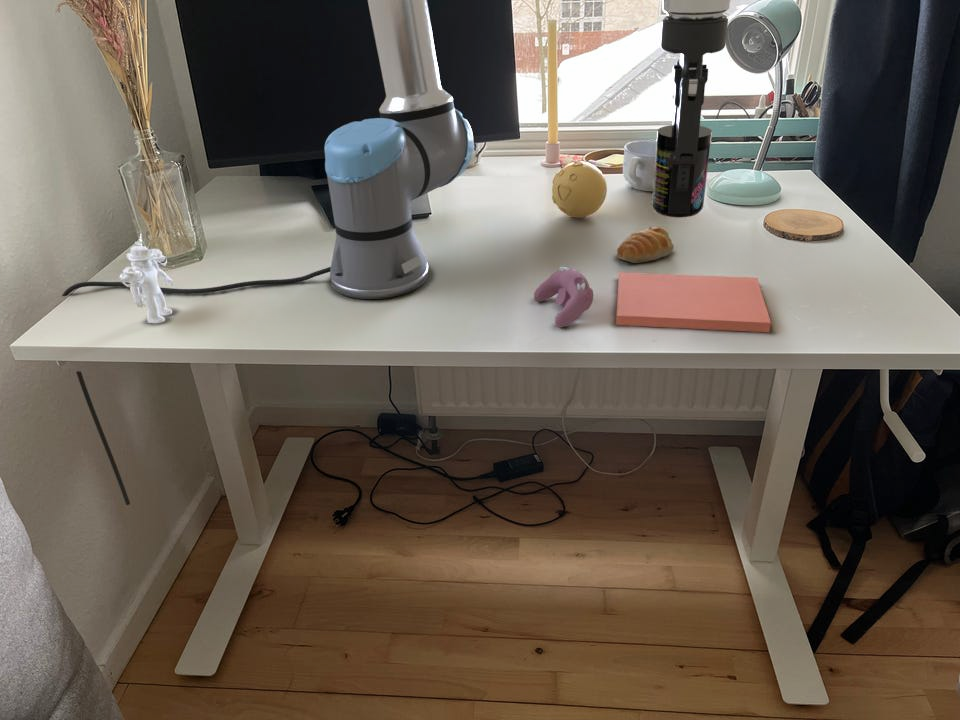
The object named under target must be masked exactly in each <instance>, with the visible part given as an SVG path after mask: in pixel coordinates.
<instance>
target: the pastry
mask: <svg viewBox="0 0 960 720" xmlns="http://www.w3.org/2000/svg"><path fill="white" fill-rule="evenodd" d="M674 248H675V246H674V244H673V239H672V238H671V236H670V235H669V232H668V230H666V229H664V228H662V227H661V226H656V227H652V226H649V227H648V228H647V229H644V230H643V229H642V230H640V231H636V232H635V231H634V232H633V233H631V234H630V236H629V237H627V238H626V239H625V240H624V241H623V242H622V243H620V245H619V246H618V247H617V250H616V252H617V259H620V260H622V261H625V262H629V263H632V264H633V263H634V264H637V263H638V264H641V263H643V262H651V261H656V260H659V259H661V258H665V257H667V256H669V255H670V254H671V253H672V252H673V251H674Z"/></svg>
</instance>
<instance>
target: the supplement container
mask: <svg viewBox="0 0 960 720" xmlns="http://www.w3.org/2000/svg"><path fill="white" fill-rule="evenodd" d="M676 127H677V125H672V124H670V125H665V126H662V127H659V128H658V129H657V130H656V131H657V132H656V140H655V141H656V145H657V146H656V159H655V172H654V185H653V191H652V200H651V207H652V209H653V210H654V212H655V213H657V214H658V215H661V216H663V217H667V218H679V219H680V218H689V217H693V216H696V215H699V213H700V212H701V211H703V208H704V204H705V193H706V185H707V177H708V167H709V159H710V152H711V151H710V150H711V145H712V135H713V131H712V129H710V128H709V127H706V126H703V125H700V128H699V139H698V150H697V157H698V160H697V163H696V164H695V169H694V179H693V189H692V199H691V208H690V214H668V207H669V195H670V184H671V172H672V165H668V160H673V158H674V156H675V141H676Z"/></svg>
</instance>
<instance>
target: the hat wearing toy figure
mask: <svg viewBox="0 0 960 720" xmlns="http://www.w3.org/2000/svg"><path fill="white" fill-rule="evenodd" d="M142 238H143V237H142V233H139V237H138V239H137V241H134V244H135V245H133V246H131V247H130V252H128V253H126V259H127V260H128V261H130V265H128V266H125V268H123V269H122V270H121V271H122V273H120V275H119V279H120V282H122V283H123V284H124V285H125V286H127V287H126V288H129V289H130V290H129V291H130V293H131V295H132V298H133V300H134V304H135V306H136V307H137V308H141V309H144V307H146V308H147V313H146V318H147V323H149V324H162V323H165V321H166V318H165V317H164V316H166V317H167V316H171V315H172V314H173V309H172V308H169V307H167V305H166V304H167V302H166V298H165V297H164V292H162V291H161V289H160V287H161V286H160V285H159V283H158V277H159V278H160V280H161V281H162V282H163V283H164V284H165V285H166V286H169V287H173V286H174V281H173V279H172V278H171V277H170V276H169V275H168V274H166V272H165V270H163V269H161V268H160V265H159V264H161V265H162V266H163V267H166V265H167V263H168V257H167V255H163V252H162V250H160V248H148V247H147V246H145V245H144V246H143V243H142V242H143V239H142ZM126 282H128V283H130V284H125V283H126Z"/></svg>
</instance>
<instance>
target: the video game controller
mask: <svg viewBox="0 0 960 720" xmlns="http://www.w3.org/2000/svg"><path fill="white" fill-rule="evenodd" d="M555 295H556V305H558V306H562V309H561V310H560V311H559V312H558V313H557V314H556V316H555V318H554V324H555V326H556V327H558V328H564V327H567V326H570V325H572V324H574V323H575V322H576V321H577V320H578V319H579V318H580V317H581V316H583V314H584V313H585V312H586V311H587V310H589V309H590V307H591V306H592V303H593V301H594V295H595V294H594V290H593V288H592V287H590V283H589V281H588V279H587V278H586V276H585V275H584V274H583V273H582V272H580V270H576V269H574V268H572V267H563V266H560V267H559V269H556V270H554V272H552V274H550V276H549V277H547V279H546V280H544V281H543V282H542V283H541V284H539V286H538V287H536V288H535V290H534V293H533V299H534V300H535V301H536V302H539V303H541V302H545V301H547V300H549V299H551V298H553V297H554V296H555Z"/></svg>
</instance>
